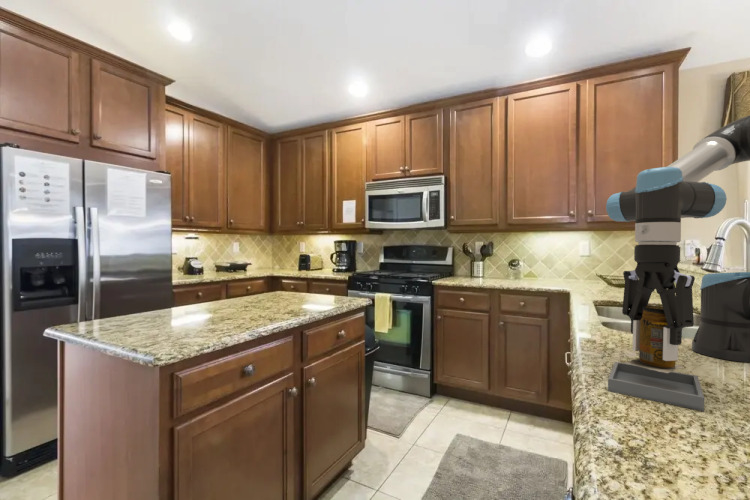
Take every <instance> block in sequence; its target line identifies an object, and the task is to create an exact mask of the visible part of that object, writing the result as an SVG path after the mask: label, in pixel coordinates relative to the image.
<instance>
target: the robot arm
mask: <svg viewBox="0 0 750 500" xmlns="http://www.w3.org/2000/svg"><path fill="white" fill-rule="evenodd" d="M748 161H749V162H750V114H749V115H746V116H744V117H741V118H739V119H738V118H737V119H736V120H734V121H730V123H728V124H726V125H724V126H722V127H720V128H718V129H717V130H715V131H714V132H711V133H710V134H708V135H707V136H705V137H704V138H701V139H700V140H698V142H696V143H695V144H694V146H693V148H692V150H691V151H689V152H687V153H685V155H683V156H681V157H680V158H678V159H676V160H675V161H674V162H672V163H670V164H669V165H667V166H663V167H654V168H653V167H652V168H649V169H648V168H647V169H644V170H642V171H640V172H638V174H637V176H636V185H635V187H633V188H631V189H630V190H627V191H620V192H617V193H613V194H611V195H610V196H609V197H608V199H606V204H605V210H606V213H607V216H608V217H609V218H610V219H611V220H612V221H615V222H625V223H626V222H627V223H629V222H635V225H634V230H635V231H634V241H635V242H636V243H637V244H635V246H634V248H633V249H634V255H633V256H634V257H633V259H634V262H636V263H637V264H636V267H635V268H634V269H632V270H624V271H623V274H622V276H623V279H624V287H623V288H624V289H623V299H622V311H621V312H622V315H624V316H627V317H628V318H629V319H630V333H631V335H632V351H634V352H639V346H640V320H641V319H642V317H643V316H642V314H643V307H644V306H649V302H650V298H651V297H652V293H653V292H655V291H656V293H657V294H658V295H659V298H660V302H661V305H662V306H661V307H663V309H664V313H665V317H666V321H667V324H668V325H666V326H665V327H664V330H663V360H665V361H676V362H677V361H678V360H679V346H681V345H682V336H683V335H682V334H683V329H685V328H690V327H694V325H695V323H694V321H695V320H694V318H695V317H694V301H693V300H694V299H693V286H694V283H695V279H696V277H695V276H694V275H688V274H684V273H681V272H680V270H679V268H678V264H679V263H680V261H681V246H680V245H679V244H678V245H677V243H680V242H681V241H682V240H681V239H682V219H685V218H693V219H704V218H705V219H707V218H711V217H712V218H713V217H714V216H716V215H718V214H720V212H721V211H723V209H724V208H725V206H726V204H727V200H728V199H727V193H726V192H725V189H724V188H722V187H720V185H717V184H715V183H714V184H713V183H709V182H705V181H702V180H703V179H704V178H706V177H707V176H709V175H710V174H712V173H713V172H715V171H721V170H724V169H726V168H729V166H731V165H733V164H735V165H736V164H738V163H744V162H748ZM699 290H700V322H699V326H698V327H697V330H696V332H695V335H694V337H693V339H692V342H691V350H692V351H693V352H696V353H698V354H701V355H703V356H708V357H710V358H711V357H712V358H716V359H722V360H726V361H727V360H728V361H733V362H741V363H742V362H743V363H750V271H740V272H739V271H737V272H735V271H733V272H714V273H707V274H704V275H703V276H702V278H701V283H700V289H699Z"/></svg>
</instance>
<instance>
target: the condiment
mask: <svg viewBox="0 0 750 500" xmlns="http://www.w3.org/2000/svg"><path fill="white" fill-rule="evenodd" d="M642 316H643V317H642V319H641V320H640V346H639V351H638V358H636V359H632V360H629V361H625V363H626V364H632V365H635V366H639V367H643V368H647V369H649V370H656V371H659V372H664V373H669V372H675V371H677V370H679V369H681V368H684V367H685V366H684V365H682V364H681V365H680V364H677V363H676V362H677V360H676V361H665V360H663V330H664V327H665V326H666V325H668V324H667V321H666V317H665V313H664V309H663V306H657V305H647V306H644V307H643V314H642Z"/></svg>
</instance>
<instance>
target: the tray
mask: <svg viewBox="0 0 750 500" xmlns="http://www.w3.org/2000/svg"><path fill="white" fill-rule="evenodd" d="M607 391H608V392H611V393H616V394H621V395H624V396H632V397H635V398H640V399H645V400H649V401H653V402H658V403H663V404H667V405H671V406H676V407H680V408H685V409H691V410H695V411H699V412H704V411H705V396H704V393H703V389H702V387H701V382H700V378H699V376H698V375H694V374H689V373H684V372H683V373H682V372H678V371H672V372H669V373H664V372H659V371H656V370H649V369H647V368H643V367H639V366H635V365H632V364H630V363H626V362H620V361H614V364H613V365H612V369H611V370H610V373H609V375H608V379H607Z"/></svg>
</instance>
